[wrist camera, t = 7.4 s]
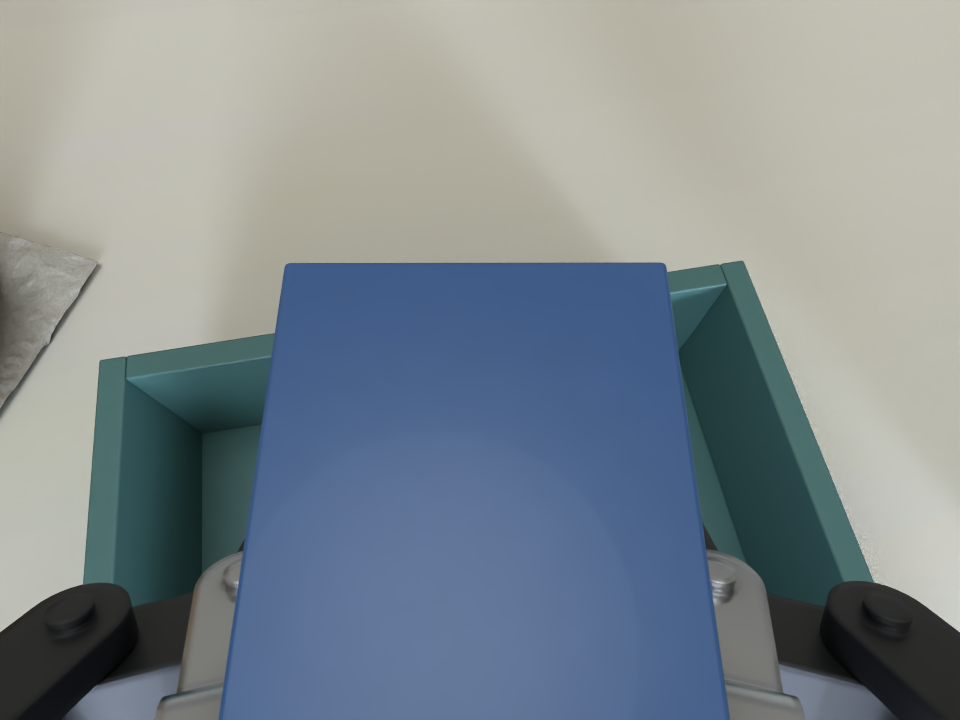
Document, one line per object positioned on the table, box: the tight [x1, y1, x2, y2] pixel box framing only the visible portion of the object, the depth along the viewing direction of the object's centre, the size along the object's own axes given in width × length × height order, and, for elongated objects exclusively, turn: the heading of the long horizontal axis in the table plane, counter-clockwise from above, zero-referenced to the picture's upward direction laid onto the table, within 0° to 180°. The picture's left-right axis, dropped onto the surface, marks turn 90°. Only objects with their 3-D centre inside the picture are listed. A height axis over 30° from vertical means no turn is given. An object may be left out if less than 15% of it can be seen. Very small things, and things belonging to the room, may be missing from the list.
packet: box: [218, 263, 730, 720], centre depth 11 cm, size 4×6×10 cm
